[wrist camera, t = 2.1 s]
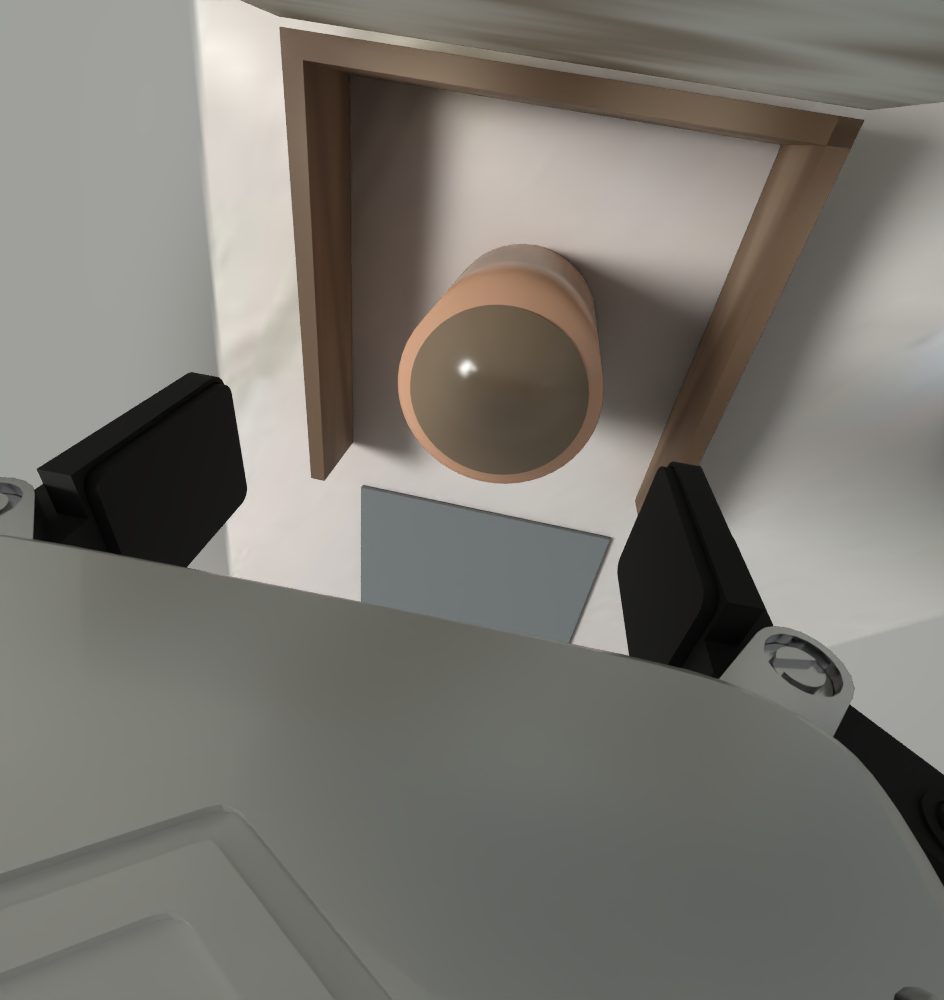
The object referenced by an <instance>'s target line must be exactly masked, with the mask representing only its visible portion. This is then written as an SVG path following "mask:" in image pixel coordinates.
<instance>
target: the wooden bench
mask: <svg viewBox="0 0 944 1000" xmlns="http://www.w3.org/2000/svg"><path fill="white" fill-rule="evenodd" d="M241 1H244V2H246V3H248V4H251V5H253V6H255V7H258V8H260V9H262V10H265V11H267V12H270V13H272V14H274V15H277V16H279V17H286V18H292V19H298V20H305V21H311V22H317V23H324V24H330V25H336V26H343V27H349V28H355V29H361V30H368V31H374V32H380V33H387V34H393V35H399V36H406V37H412V38H418V39H425V40H431V41H437V42H444V43H450V44H456V45H462V46H469V47H475V48H481V49H488V50H494V51H500V52H507V53H513V54H519V55H526V56H532V57H538V58H545V59H551V60H557V61H563V62H570V63H576V64H582V65H589V66H595V67H601V68H608V69H614V70H620V71H627V72H633V73H639V74H645V75H652V76H658V77H664V78H671V79H677V80H683V81H690V82H696V83H702V84H709V85H715V86H721V87H728V88H734V89H740V90H746V91H753V92H759V93H765V94H772V95H778V96H784V97H791V98H797V99H803V100H810V101H816V102H822V103H829V104H835V105H841V106H847V107H854V108H860V109H866V110H873V109H883V108H892V107H901V106H910V105H920V104H929V103H938V102H944V0H241ZM280 41H281V55H282V70H283V84H284V98H285V112H286V126H287V140H288V155H289V169H290V183H291V197H292V211H293V226H294V240H295V254H296V268H297V282H298V296H299V311H300V325H301V339H302V353H303V367H304V381H305V396H306V410H307V424H308V438H309V452H310V467H311V478H314V479H319V480H323V481H325V479H326V478H327V477H328V475H329V474H330V473H331V471H332V470H333V469H334V467H335V466H336V464H337V463H338V462H339V460H340V459H341V458H342V456H343V455H344V454H345V452H346V451H347V450H348V448H349V447H350V446H351V444H352V443H353V398H352V296H351V195H350V93H349V74H352V75H359V76H365V77H371V78H377V79H383V80H389V81H395V82H401V83H407V84H413V85H420V86H426V87H432V88H438V89H444V90H450V91H456V92H462V93H468V94H475V95H481V96H487V97H493V98H499V99H505V100H511V101H517V102H523V103H530V104H536V105H542V106H548V107H554V108H560V109H566V110H572V111H578V112H585V113H591V114H597V115H603V116H609V117H615V118H621V119H627V120H633V121H639V122H646V123H652V124H658V125H664V126H670V127H676V128H682V129H688V130H694V131H701V132H707V133H713V134H719V135H725V136H731V137H737V138H743V139H749V140H756V141H762V142H768V143H774V144H780V145H781V147H780V149H779V152H778V154H777V157H776V159H775V162H774V164H773V166H772V169H771V171H770V174H769V176H768V179H767V181H766V184H765V186H764V188H763V191H762V193H761V196H760V198H759V201H758V203H757V205H756V208H755V210H754V213H753V215H752V218H751V220H750V222H749V225H748V227H747V230H746V232H745V235H744V237H743V239H742V242H741V244H740V247H739V249H738V252H737V254H736V256H735V259H734V261H733V264H732V266H731V269H730V271H729V274H728V276H727V278H726V281H725V283H724V286H723V288H722V291H721V293H720V295H719V298H718V300H717V303H716V305H715V308H714V310H713V312H712V315H711V317H710V320H709V322H708V325H707V327H706V329H705V332H704V334H703V337H702V339H701V342H700V344H699V346H698V349H697V351H696V354H695V356H694V359H693V361H692V363H691V366H690V368H689V371H688V373H687V376H686V378H685V381H684V383H683V385H682V388H681V390H680V393H679V395H678V398H677V400H676V402H675V405H674V407H673V410H672V412H671V415H670V417H669V419H668V422H667V424H666V427H665V429H664V432H663V434H662V436H661V439H660V441H659V444H658V446H657V449H656V451H655V453H654V456H653V458H652V461H651V463H650V466H649V468H648V470H647V473H646V475H645V478H644V480H643V483H642V485H641V488H640V490H639V492H638V495H637V497H636V500H635V502H636V508H637V514H639V512H640V510H641V507H642V505H643V502H644V500H645V498H646V495H647V493H648V491H649V488H650V486H651V484H652V481H653V479H654V476H655V474H656V472H657V470H658V468H659V467H661V466H664V467H667V466H668V465H669V463H670V462H672V461H674V462H679V463H685V464H690V465H696V466H698V465H699V463H700V461H701V459H702V457H703V455H704V453H705V451H706V449H707V447H708V445H709V442H710V440H711V438H712V436H713V434H714V432H715V430H716V428H717V426H718V424H719V422H720V420H721V417H722V415H723V413H724V411H725V409H726V407H727V405H728V403H729V401H730V399H731V397H732V395H733V392H734V390H735V388H736V386H737V384H738V382H739V380H740V378H741V376H742V374H743V372H744V370H745V368H746V365H747V363H748V361H749V359H750V357H751V355H752V353H753V351H754V349H755V347H756V345H757V343H758V340H759V338H760V336H761V334H762V332H763V330H764V328H765V326H766V324H767V322H768V320H769V318H770V315H771V313H772V311H773V309H774V307H775V305H776V303H777V301H778V299H779V297H780V295H781V293H782V291H783V288H784V286H785V284H786V282H787V280H788V278H789V276H790V274H791V272H792V270H793V268H794V266H795V263H796V261H797V259H798V257H799V255H800V253H801V251H802V249H803V247H804V245H805V243H806V241H807V239H808V236H809V234H810V232H811V230H812V228H813V226H814V224H815V222H816V220H817V218H818V216H819V214H820V211H821V209H822V207H823V205H824V203H825V201H826V199H827V197H828V195H829V193H830V191H831V189H832V186H833V184H834V182H835V180H836V178H837V176H838V174H839V172H840V170H841V168H842V166H843V164H844V162H845V159H846V157H847V155H848V153H849V151H850V149H851V147H852V145H853V143H854V141H855V139H856V137H857V134H858V132H859V130H860V128H861V126H862V124H863V122H864V120H861V119H855V118H848V117H842V116H836V115H830V114H823V113H817V112H811V111H805V110H798V109H792V108H786V107H779V106H773V105H767V104H761V103H754V102H748V101H742V100H736V99H729V98H723V97H717V96H711V95H704V94H698V93H692V92H685V91H679V90H673V89H667V88H660V87H654V86H648V85H642V84H635V83H629V82H623V81H617V80H610V79H604V78H598V77H591V76H585V75H579V74H573V73H566V72H560V71H554V70H548V69H541V68H535V67H529V66H523V65H516V64H510V63H504V62H498V61H491V60H485V59H479V58H472V57H466V56H460V55H454V54H447V53H441V52H435V51H429V50H422V49H416V48H410V47H404V46H397V45H391V44H385V43H378V42H372V41H366V40H360V39H353V38H347V37H341V36H335V35H328V34H322V33H316V32H310V31H303V30H297V29H291V28H284V27H280Z"/></svg>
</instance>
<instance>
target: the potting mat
mask: <svg viewBox="0 0 944 1000" xmlns="http://www.w3.org/2000/svg"><path fill="white" fill-rule="evenodd" d="M609 540H610V538H609V537H606V536H601V535H596V534H591V533H587V532H582V531H577V530H572V529H568V528H563V527H558V526H553V525H549V524H544V523H539V522H534V521H530V520H525V519H520V518H515V517H511V516H506V515H501V514H496V513H492V512H487V511H482V510H477V509H473V508H468V507H463V506H458V505H454V504H449V503H444V502H439V501H434V500H430V499H425V498H420V497H415V496H411V495H406V494H401V493H396V492H392V491H387V490H382V489H377V488H373V487H368V486H363V485H362V487H361V602H364V603H369V604H375V605H380V606H385V607H390V608H395V609H400V610H405V611H410V612H415V613H420V614H425V615H430V616H435V617H440V618H445V619H450V620H455V621H460V622H465V623H470V624H475V625H480V626H485V627H490V628H495V629H500V630H505V631H510V632H515V633H520V634H525V635H530V636H535V637H540V638H545V639H550V640H555V641H560V642H565V643H569V641H570V639H571V636H572V633H573V631H574V628H575V626H576V623H577V621H578V618H579V616H580V613H581V611H582V608H583V606H584V603H585V601H586V598H587V596H588V593H589V591H590V588H591V586H592V583H593V581H594V578H595V575H596V573H597V570H598V568H599V565H600V563H601V560H602V558H603V555H604V553H605V550H606V548H607V545H608V543H609Z"/></svg>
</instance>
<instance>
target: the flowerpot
mask: <svg viewBox="0 0 944 1000" xmlns="http://www.w3.org/2000/svg"><path fill="white" fill-rule="evenodd" d="M398 393H399V399H400V404H401V408H402V411H403V414H404V417H405V419H406V421H407V424H408V426H409V428H410V429H411V431H412V433H413V434H414V436H415V437H416V439H417V440H418V441H419V443H420V444H421V445H422V446H423V447H424V448H425V450H426V451H427V452H428V453H429V454H430V455H432V456H433V457H434V458H435V459H436V460H438V461H439V462H440V463H442V464H443V465H445V466H446V467H448V468H449V469H451V470H453V471H455V472H457V473H459V474H461V475H464V476H466V477H469V478H472V479H476V480H480V481H484V482H491V483H504V484H508V483H520V482H525V481H530V480H534V479H537V478H540V477H543V476H545V475H547V474H550V473H552V472H554V471H555V470H557V469H559V468H561V467H562V466H564V465H565V464H566V463H568V462H569V461H570V460H571V459H573V458H574V457H575V456H576V455H577V454H578V453H579V452H580V451H581V450H582V448H583V447H584V446H585V444H586V443H587V442H588V440H589V439H590V437H591V435H592V433H593V432H594V430H595V428H596V425H597V423H598V420H599V417H600V413H601V409H602V405H603V394H604V387H603V374H602V365H601V357H600V348H599V340H598V331H597V323H596V314H595V307H594V302H593V298H592V295H591V292H590V290H589V288H588V286H587V284H586V282H585V280H584V278H583V277H582V275H581V274H580V273H579V271H578V270H577V269H576V268H575V267H574V266H573V265H572V264H571V263H570V262H569V261H567V260H566V259H565V258H564V257H562V256H560V255H559V254H557V253H556V252H554V251H551V250H549V249H546V248H543V247H540V246H536V245H528V244H514V245H508V246H503V247H500V248H497V249H494V250H492V251H490V252H488V253H486V254H484V255H482V256H481V257H479V258H478V259H476V260H475V261H474V262H473V263H472V264H471V265H470V266H469V267H467V269H466V270H465V271H464V272H463V273H462V274H461V276H460V277H459V278H458V279H457V280H456V281H455V283H454V284H453V285H452V286H451V287H450V288H449V289H448V291H447V292H446V293H445V294H444V295H443V296H442V298H441V299H440V300H439V301H438V302H437V303H436V305H435V306H434V307H433V308H432V309H431V310H430V312H429V313H428V314H427V315H426V316H425V317H424V319H423V320H422V321H421V322H420V323H419V325H418V326H417V327H416V328H415V329H414V331H413V333H412V334H411V336H410V338H409V339H408V341H407V344H406V346H405V348H404V351H403V353H402V357H401V361H400V365H399V372H398Z"/></svg>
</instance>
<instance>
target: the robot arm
mask: <svg viewBox="0 0 944 1000" xmlns="http://www.w3.org/2000/svg"><path fill="white" fill-rule="evenodd" d="M37 471H38V473H39V475H40V477H41V480H42V482H43V484H42V485H41V486H40V487H38V488H36V489H35V490H34V488H33V486H32V485H30V484H29V483H27V482H26V481H24V480H20V479H16V478H7V477H0V1000H944V775H943V774H942V773H941V772H939V771H938V770H937V769H935V768H934V767H932V766H931V765H930V764H929V763H927V762H926V761H924V760H923V759H922V758H920V757H919V756H918V755H916V754H915V753H914V752H912V751H911V750H910V749H908V748H907V747H906V746H904V745H903V744H902V743H900V742H899V741H898V740H896V739H895V738H894V737H892V736H891V735H890V734H888V733H887V732H885V731H884V730H883V729H882V728H880V727H879V726H877V725H876V724H875V723H874V722H872V721H871V720H870V719H868V718H867V717H866V716H864V715H863V714H862V713H860V712H859V711H858V710H856V709H855V708H854V707H852V706H851V705H850V703H851V701H852V699H853V694H854V684H853V681H852V677H851V675H850V673H849V672H848V670H847V669H846V667H845V666H844V664H843V663H842V662H841V661H840V659H839V658H838V657H837V656H836V655H835V654H834V653H833V652H832V651H831V650H829V649H828V648H827V647H825V646H824V645H823V644H821V643H820V642H819V641H817V640H815V639H814V638H812V637H810V636H808V635H806V634H804V633H802V632H799V631H796V630H793V629H791V628H786V627H779V626H773V624H772V622H771V619H770V617H769V615H768V613H767V610H766V608H765V606H764V604H763V602H762V599H761V597H760V595H759V593H758V590H757V588H756V586H755V584H754V582H753V579H752V577H751V575H750V573H749V570H748V568H747V566H746V564H745V562H744V559H743V557H742V555H741V553H740V550H739V548H738V546H737V544H736V542H735V540H734V538H733V537H732V535H731V532H730V530H729V528H728V526H727V524H726V521H725V519H724V517H723V515H722V512H721V510H720V508H719V506H718V503H717V501H716V499H715V497H714V495H713V492H712V490H711V488H710V486H709V483H708V481H707V479H706V477H705V474H704V472H703V470H702V468H701V467H700V466H696V465H690V464H685V463H679V462H674V461H672V462H670V463H669V465H668V466H667V467H664V466H661V467H659V468H658V470H657V472H656V474H655V476H654V479H653V481H652V484H651V486H650V488H649V491H648V493H647V495H646V498H645V500H644V502H643V505H642V507H641V510H640V512H639V514H638V517H637V519H636V521H635V524H634V526H633V528H632V531H631V533H630V535H629V538H628V540H627V543H626V545H625V547H624V550H623V552H622V554H621V557H620V560H619V563H618V571H617V573H618V581H619V588H620V595H621V602H622V609H623V616H624V623H625V630H626V637H627V644H628V651H629V656H627V655H623V654H618V653H614V652H609V651H604V650H599V649H594V648H589V647H584V646H579V645H574V644H569V643H565V642H560V641H555V640H550V639H545V638H540V637H535V636H530V635H525V634H520V633H515V632H510V631H505V630H500V629H495V628H490V627H485V626H480V625H475V624H470V623H465V622H460V621H455V620H450V619H445V618H440V617H435V616H430V615H425V614H420V613H415V612H410V611H405V610H400V609H395V608H390V607H385V606H380V605H375V604H369V603H364V602H359V601H354V600H349V599H344V598H339V597H334V596H329V595H324V594H319V593H314V592H308V591H303V590H298V589H293V588H288V587H283V586H278V585H273V584H268V583H263V582H257V581H252V580H247V579H242V578H237V577H232V576H227V575H222V574H217V573H212V572H206V571H201V570H196V569H190V568H187V566H188V565H189V564H190V563H191V562H192V560H193V559H194V558H195V557H196V556H197V555H198V554H199V552H200V551H201V550H202V549H203V548H204V547H205V545H206V544H207V543H208V542H209V541H210V540H211V538H212V537H213V536H214V535H215V534H216V533H217V532H218V530H219V529H220V528H221V527H222V526H223V525H224V524H225V522H226V521H227V520H228V519H229V518H230V517H231V515H232V514H233V513H234V512H235V511H236V510H237V508H238V507H239V506H240V505H241V504H242V503H243V501H244V499H245V497H246V493H247V484H246V478H245V472H244V466H243V460H242V454H241V447H240V441H239V435H238V429H237V423H236V417H235V411H234V405H233V399H232V393H231V390H230V388H229V387H228V386H227V385H224V383H223V381H222V380H221V379H220V378H219V377H215V376H209V375H204V374H198V373H193V372H191V373H188V374H186V375H184V376H183V377H181V378H180V379H178V380H176V381H175V382H173V383H172V384H170V385H169V386H167V387H165V388H164V389H163V390H161V391H159V392H158V393H156V394H154V395H153V396H151V397H150V398H148V399H147V400H145V401H143V402H142V403H140V404H139V405H137V406H135V407H134V408H132V409H131V410H129V411H128V412H126V413H124V414H123V415H122V416H120V417H118V418H116V419H115V420H113V421H112V422H110V423H109V424H107V425H105V426H104V427H102V428H101V429H99V430H98V431H96V432H94V433H93V434H91V435H90V436H88V437H86V438H85V439H83V440H82V441H80V442H79V443H77V444H75V445H74V446H72V447H71V448H69V449H68V450H66V451H64V452H63V453H61V454H60V455H58V456H57V457H55V458H53V459H52V460H50V461H49V462H47V463H45V464H44V465H42V466H41V467H39V468H38V469H37Z"/></svg>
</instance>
